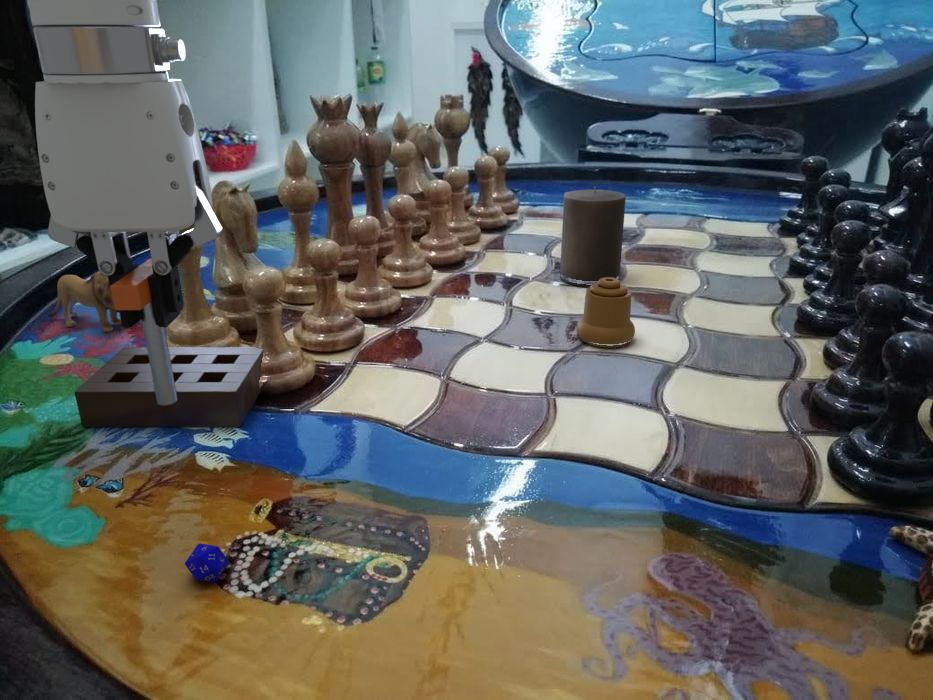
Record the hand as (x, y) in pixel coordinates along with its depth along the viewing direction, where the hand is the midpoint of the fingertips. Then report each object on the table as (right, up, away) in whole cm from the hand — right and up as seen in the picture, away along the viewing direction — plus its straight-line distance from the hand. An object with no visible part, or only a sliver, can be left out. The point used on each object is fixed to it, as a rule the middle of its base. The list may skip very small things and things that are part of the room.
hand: (152, 319), depth 55 cm
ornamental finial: (+42, -1, +41) cm, 58 cm away
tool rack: (-7, -8, +24) cm, 26 cm away
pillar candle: (+44, +9, +65) cm, 79 cm away
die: (+5, -19, -2) cm, 20 cm away
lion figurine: (-27, +1, +46) cm, 53 cm away
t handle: (0, -6, +3) cm, 7 cm away
